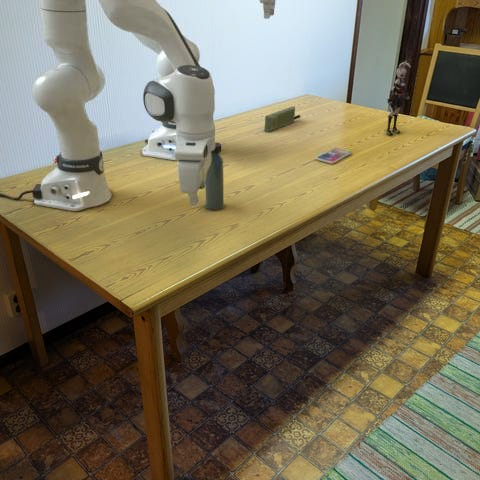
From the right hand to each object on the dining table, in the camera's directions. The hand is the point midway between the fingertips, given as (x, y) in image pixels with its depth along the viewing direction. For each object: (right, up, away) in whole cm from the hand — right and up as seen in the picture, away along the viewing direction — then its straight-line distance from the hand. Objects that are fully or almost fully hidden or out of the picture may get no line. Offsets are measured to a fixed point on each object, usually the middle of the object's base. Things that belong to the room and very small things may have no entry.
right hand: (268, 16), depth 163 cm
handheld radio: (+10, -21, +60) cm, 64 cm away
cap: (-17, -45, -22) cm, 53 cm away
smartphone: (+26, -41, +26) cm, 55 cm away
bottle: (-17, -62, -12) cm, 65 cm away
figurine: (+55, -27, +52) cm, 80 cm away
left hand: (-20, -61, -40) cm, 75 cm away
